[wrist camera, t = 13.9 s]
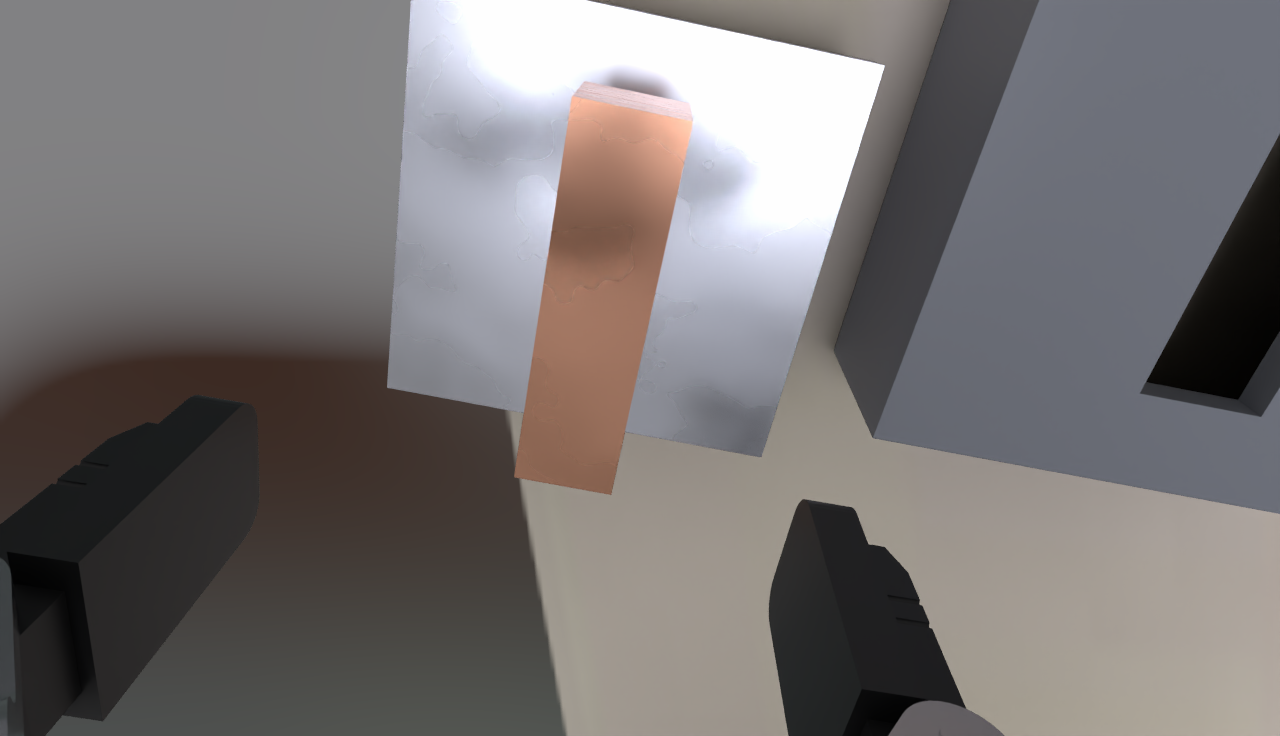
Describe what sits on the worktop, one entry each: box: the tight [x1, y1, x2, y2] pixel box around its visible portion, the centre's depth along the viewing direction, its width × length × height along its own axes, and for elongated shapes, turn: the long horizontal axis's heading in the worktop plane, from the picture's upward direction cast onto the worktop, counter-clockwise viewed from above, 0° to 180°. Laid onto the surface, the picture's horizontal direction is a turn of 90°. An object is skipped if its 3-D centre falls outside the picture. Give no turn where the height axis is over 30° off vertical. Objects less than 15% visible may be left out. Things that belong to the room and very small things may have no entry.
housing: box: [834, 0, 1280, 514], centre depth 22 cm, size 17×17×6 cm
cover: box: [387, 0, 884, 495], centre depth 21 cm, size 12×12×9 cm
